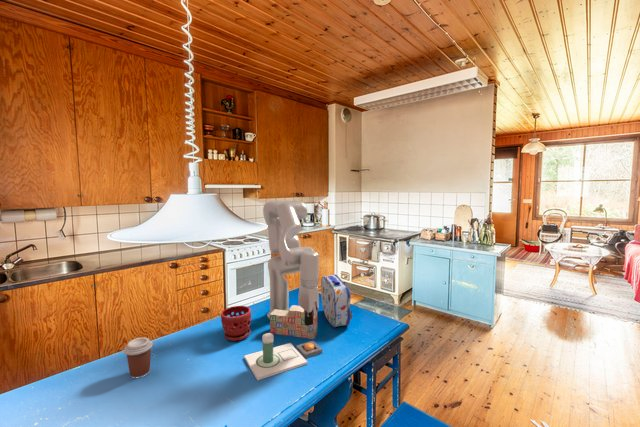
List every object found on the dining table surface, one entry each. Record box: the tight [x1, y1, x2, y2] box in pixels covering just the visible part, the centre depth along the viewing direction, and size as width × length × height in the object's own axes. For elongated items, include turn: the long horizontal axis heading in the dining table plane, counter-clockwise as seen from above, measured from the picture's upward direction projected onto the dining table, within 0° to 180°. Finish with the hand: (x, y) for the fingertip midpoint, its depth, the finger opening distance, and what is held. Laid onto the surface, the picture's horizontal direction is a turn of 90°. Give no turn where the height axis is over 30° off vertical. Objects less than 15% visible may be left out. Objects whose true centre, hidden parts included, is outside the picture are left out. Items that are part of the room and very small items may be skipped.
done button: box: [304, 342, 315, 352], centre depth 129 cm, size 4×4×2 cm
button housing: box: [295, 340, 323, 359], centre depth 129 cm, size 8×8×2 cm
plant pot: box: [220, 305, 252, 342], centre depth 141 cm, size 13×13×12 cm
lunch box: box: [320, 274, 353, 328], centre depth 158 cm, size 28×10×22 cm, turn 15°
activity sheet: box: [243, 342, 308, 381], centre depth 122 cm, size 16×20×1 cm
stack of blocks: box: [269, 304, 319, 340], centre depth 144 cm, size 21×6×12 cm, turn 76°
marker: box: [261, 332, 275, 363], centre depth 120 cm, size 4×4×10 cm
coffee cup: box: [123, 336, 154, 378], centre depth 113 cm, size 9×9×12 cm
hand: (308, 324), depth 129 cm, fingers closed
